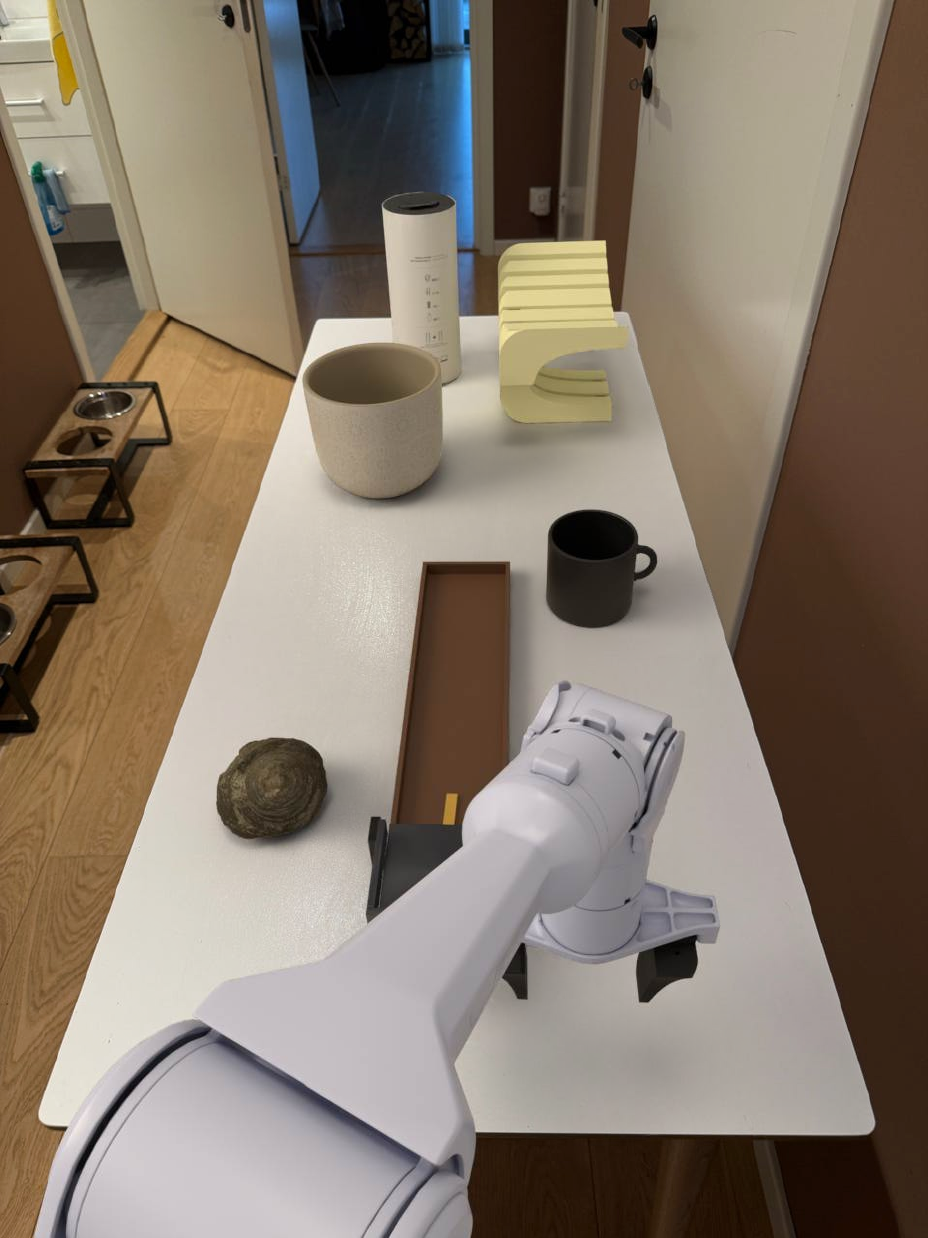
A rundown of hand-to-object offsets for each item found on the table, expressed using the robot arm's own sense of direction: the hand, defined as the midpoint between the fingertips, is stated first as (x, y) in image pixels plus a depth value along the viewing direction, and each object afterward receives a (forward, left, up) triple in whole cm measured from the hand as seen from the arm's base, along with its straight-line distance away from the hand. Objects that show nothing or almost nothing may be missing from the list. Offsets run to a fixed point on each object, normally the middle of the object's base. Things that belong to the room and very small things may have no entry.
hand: (582, 986), depth 59 cm
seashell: (+23, +26, -10) cm, 36 cm away
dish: (+10, +10, -7) cm, 16 cm away
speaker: (+105, +18, -10) cm, 107 cm away
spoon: (+20, +10, -10) cm, 24 cm away
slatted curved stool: (+96, -1, -10) cm, 96 cm away
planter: (+75, +22, -10) cm, 79 cm away
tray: (+35, +10, -10) cm, 38 cm away
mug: (+50, -5, -10) cm, 51 cm away
